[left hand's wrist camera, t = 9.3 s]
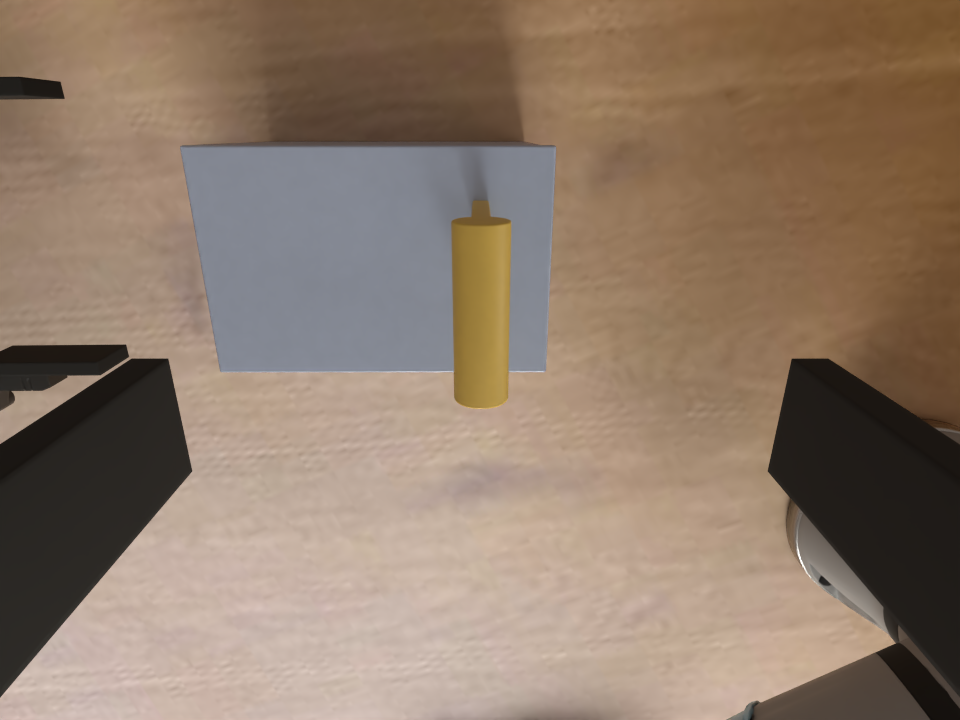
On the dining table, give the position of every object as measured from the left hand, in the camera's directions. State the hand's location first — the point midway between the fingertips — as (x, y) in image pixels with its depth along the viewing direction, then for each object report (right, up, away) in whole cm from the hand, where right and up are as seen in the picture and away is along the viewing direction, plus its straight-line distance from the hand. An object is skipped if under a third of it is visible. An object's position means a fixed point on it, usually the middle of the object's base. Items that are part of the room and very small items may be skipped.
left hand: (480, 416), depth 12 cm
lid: (-5, +6, +14) cm, 16 cm away
